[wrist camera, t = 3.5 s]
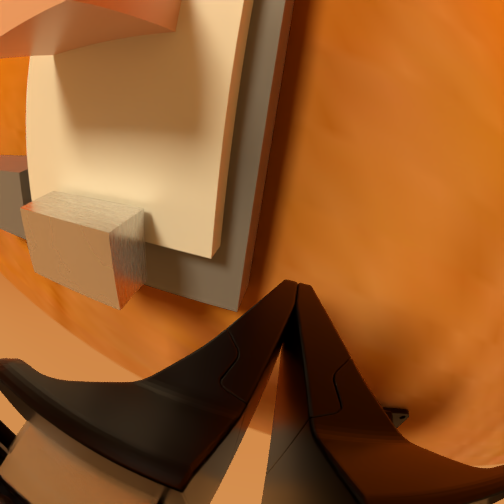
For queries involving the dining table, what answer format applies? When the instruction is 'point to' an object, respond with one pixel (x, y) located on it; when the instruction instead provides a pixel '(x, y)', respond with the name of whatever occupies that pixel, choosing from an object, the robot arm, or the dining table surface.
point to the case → (238, 182)
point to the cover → (133, 105)
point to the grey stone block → (87, 245)
